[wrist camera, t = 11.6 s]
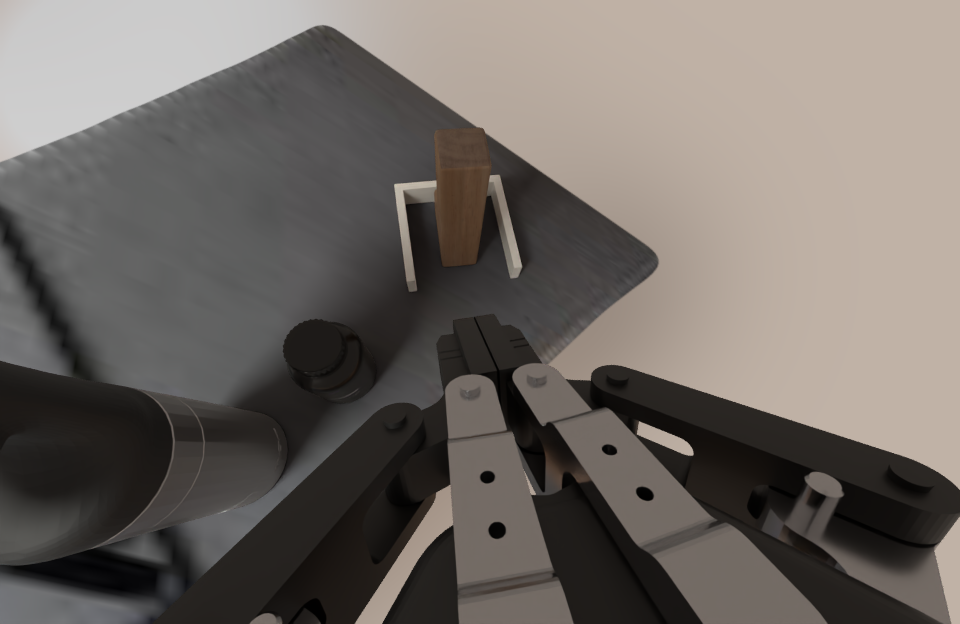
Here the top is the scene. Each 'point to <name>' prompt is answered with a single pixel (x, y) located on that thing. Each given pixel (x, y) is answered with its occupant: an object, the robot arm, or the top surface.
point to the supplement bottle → (329, 361)
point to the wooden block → (460, 192)
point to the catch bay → (425, 193)
